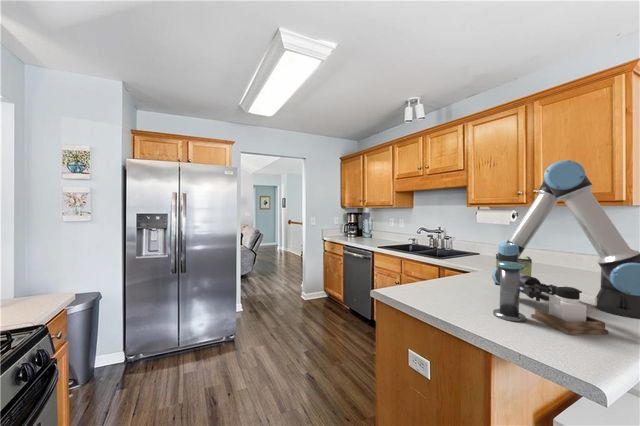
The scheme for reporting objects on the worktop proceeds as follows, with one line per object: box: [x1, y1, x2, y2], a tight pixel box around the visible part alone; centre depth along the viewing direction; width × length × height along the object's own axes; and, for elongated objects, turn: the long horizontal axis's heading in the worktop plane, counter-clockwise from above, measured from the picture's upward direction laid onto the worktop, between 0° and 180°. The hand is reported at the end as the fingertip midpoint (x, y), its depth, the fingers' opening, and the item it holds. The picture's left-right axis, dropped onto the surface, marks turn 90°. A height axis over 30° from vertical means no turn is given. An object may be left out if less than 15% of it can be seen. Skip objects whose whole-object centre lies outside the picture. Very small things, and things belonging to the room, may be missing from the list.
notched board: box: [530, 308, 609, 336], centre depth 95 cm, size 14×14×4 cm
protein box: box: [494, 253, 533, 286], centre depth 146 cm, size 10×16×16 cm
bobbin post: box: [492, 261, 526, 323], centre depth 101 cm, size 10×10×20 cm
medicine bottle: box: [548, 285, 588, 322], centre depth 95 cm, size 7×7×12 cm
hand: (577, 301), depth 91 cm, fingers open, 13 cm apart
